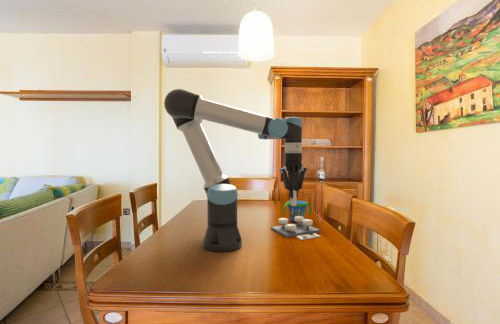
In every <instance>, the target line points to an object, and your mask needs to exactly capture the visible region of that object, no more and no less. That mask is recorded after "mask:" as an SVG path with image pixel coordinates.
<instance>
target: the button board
mask: <svg viewBox="0 0 500 324" xmlns="http://www.w3.org/2000/svg"><path fill="white" fill-rule="evenodd" d="M294 224H295V225H296V230H295V231H292V232H289V231H288V230H286V224H285V227H282V225H275V226H271V230H272V231H273V232H275V233H276V234H279V235H281V236H282V237H285V238H292V237H296V236H300V235H307V234H313V233H315V234H318V233H320V232H321V230H320V229H319V228H317V227H314V226H313V225H311V226H309V228H306V225H303V224H302V222H301V225H298V223H294Z"/></svg>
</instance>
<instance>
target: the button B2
mask: <svg viewBox="0 0 500 324" xmlns="http://www.w3.org/2000/svg"><path fill="white" fill-rule="evenodd" d="M303 219H304V217H302V216H295V222H294V223H297V224H298V225H301V223H302V220H303Z"/></svg>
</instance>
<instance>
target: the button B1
mask: <svg viewBox="0 0 500 324" xmlns="http://www.w3.org/2000/svg"><path fill="white" fill-rule="evenodd" d="M313 222H314V221H313V220H312V219H309V218H305V219H303V220H302V222H301V223H302V224H303V225H306V228H309V226H313Z"/></svg>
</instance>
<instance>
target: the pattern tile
mask: <svg viewBox="0 0 500 324" xmlns="http://www.w3.org/2000/svg"><path fill="white" fill-rule="evenodd" d="M321 237H322V236H321V235H319V234H318V233H312V234H306V235H299V236H295V238H297V239H299V241H300V240H301V241H304V240H311V239H319V238H321Z"/></svg>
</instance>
